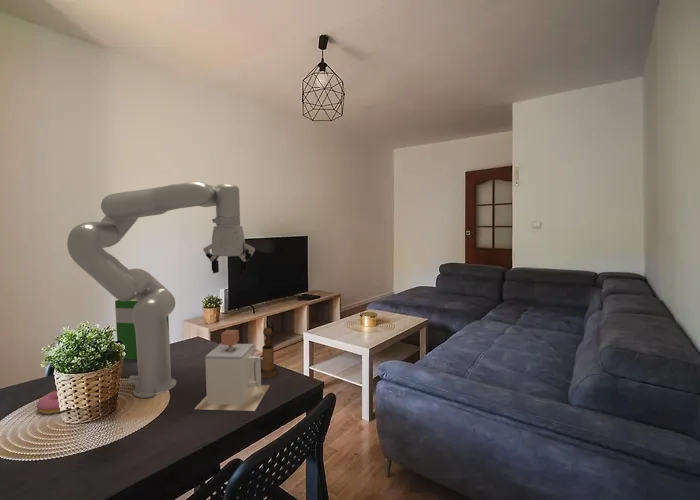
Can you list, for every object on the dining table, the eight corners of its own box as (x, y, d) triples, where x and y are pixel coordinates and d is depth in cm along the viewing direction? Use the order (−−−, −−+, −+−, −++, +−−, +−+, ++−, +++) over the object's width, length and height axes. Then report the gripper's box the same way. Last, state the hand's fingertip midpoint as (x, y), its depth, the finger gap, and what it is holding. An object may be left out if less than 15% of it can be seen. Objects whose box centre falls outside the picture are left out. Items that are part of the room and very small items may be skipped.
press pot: (207, 404, 106) (205, 356, 105) (222, 387, 117) (220, 343, 116) (254, 405, 105) (253, 357, 104) (265, 388, 116) (264, 344, 115)
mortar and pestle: (273, 381, 123) (272, 331, 122) (255, 380, 124) (254, 330, 123) (280, 373, 130) (279, 325, 128) (264, 372, 131) (263, 324, 130)
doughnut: (48, 420, 100) (47, 406, 100) (29, 411, 105) (28, 397, 104) (91, 402, 110) (90, 389, 109) (72, 395, 115) (71, 382, 114)
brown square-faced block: (212, 396, 107) (210, 336, 106) (224, 383, 116) (222, 327, 114) (240, 396, 107) (238, 336, 105) (249, 384, 115) (248, 328, 114)
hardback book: (170, 353, 150) (167, 297, 148) (158, 360, 142) (156, 301, 141) (131, 352, 152) (128, 296, 150) (118, 358, 144) (114, 300, 142)
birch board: (194, 412, 103) (193, 409, 103) (217, 386, 119) (217, 384, 119) (254, 414, 103) (254, 410, 102) (270, 388, 118) (270, 385, 118)
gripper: (197, 222, 115) (199, 274, 116) (250, 222, 114) (251, 274, 115) (208, 222, 122) (209, 271, 124) (257, 222, 122) (258, 271, 123)
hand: (229, 272), depth 120 cm, fingers open, 9 cm apart
